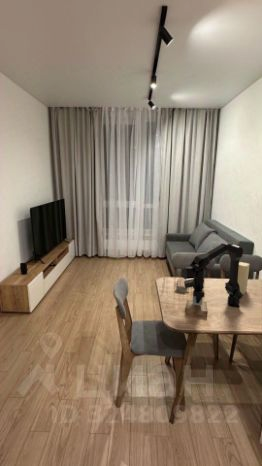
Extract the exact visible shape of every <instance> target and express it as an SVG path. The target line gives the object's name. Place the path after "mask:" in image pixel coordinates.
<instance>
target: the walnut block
mask: <svg viewBox="0 0 262 466" xmlns="http://www.w3.org/2000/svg"><path fill="white" fill-rule="evenodd" d="M185 305H186V310H185V311H186V315H189V316H196V317H204V318H207V317H208V314H209V312H208V305H207V301H203V300H202V305H196V304H193V302H192V299H186V304H185Z"/></svg>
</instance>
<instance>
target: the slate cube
mask: <svg viewBox="0 0 262 466" xmlns="http://www.w3.org/2000/svg"><path fill="white" fill-rule="evenodd" d="M203 298H204V297H202V298H201V300H200V302H199V303H196V296H193V295H192V299H191V300H192V302H193V304H196V305H202V301H203Z"/></svg>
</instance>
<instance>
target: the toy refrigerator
mask: <svg viewBox="0 0 262 466" xmlns="http://www.w3.org/2000/svg"><path fill="white" fill-rule="evenodd" d="M249 272H250V263H248V262H242V261H239V270H238V284H239V286H240V292H241V293H242V294H243V295H244V294H246V292H247V289H248V281H249V274H250V273H249Z"/></svg>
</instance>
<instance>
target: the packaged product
mask: <svg viewBox="0 0 262 466" xmlns="http://www.w3.org/2000/svg"><path fill="white" fill-rule="evenodd" d="M186 280H187V279H184V278H183V277H182V278H178V279H177V280H176V281H175V285H174V286H175V288H174V292H175V293H183V292H184V294H189V293H190V288H185V285H184V281H186Z"/></svg>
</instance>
